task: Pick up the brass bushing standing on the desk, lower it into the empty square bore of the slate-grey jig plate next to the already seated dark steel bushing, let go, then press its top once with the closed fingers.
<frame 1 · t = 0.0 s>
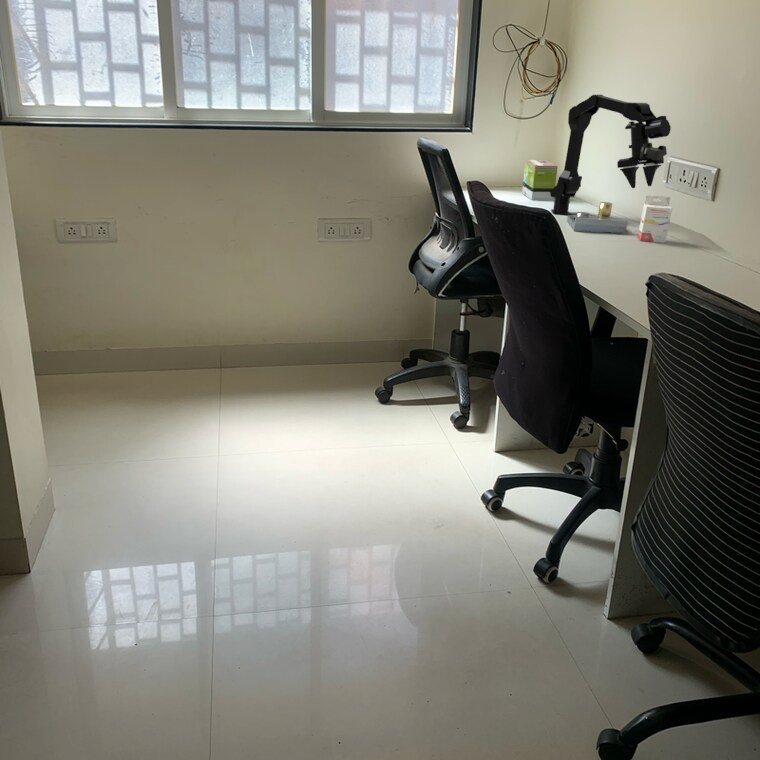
hand: (641, 187, 272), 15 cm above the table, tool pointing down, fingers open, 9 cm apart
tea box: (537, 198, 333), on the table
steel bushing: (581, 226, 281), resting in jig plate
brass bushing: (603, 221, 291), on the table
jig plate: (595, 227, 281), on the table
ink cartridge box: (651, 240, 266), on the table
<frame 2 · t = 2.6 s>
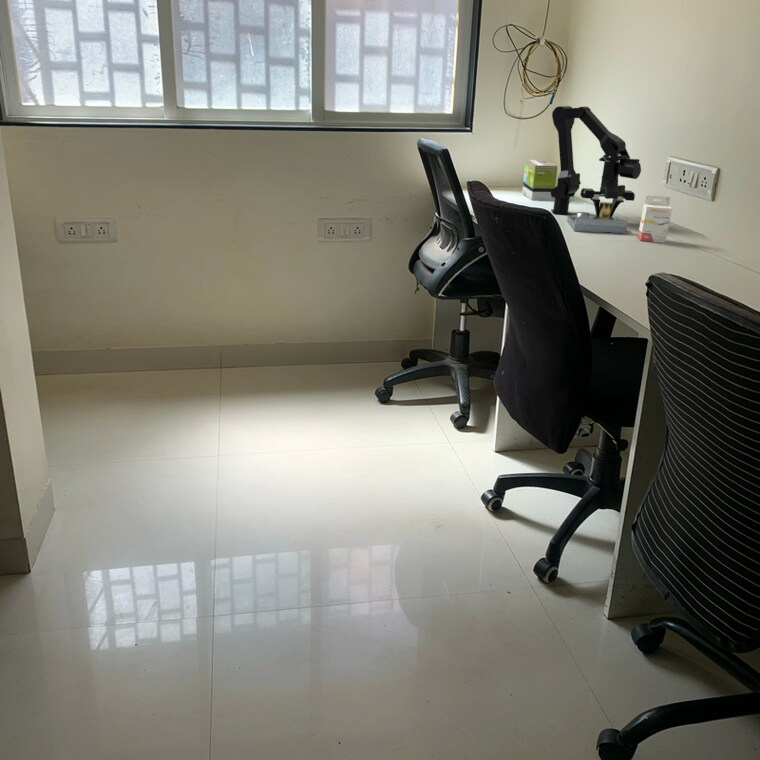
hand: (603, 217, 290), 2 cm above the table, tool pointing down, fingers closed on brass bushing, 4 cm apart
brass bushing: (603, 221, 291), on the table, touching gripper
everything else where it was.
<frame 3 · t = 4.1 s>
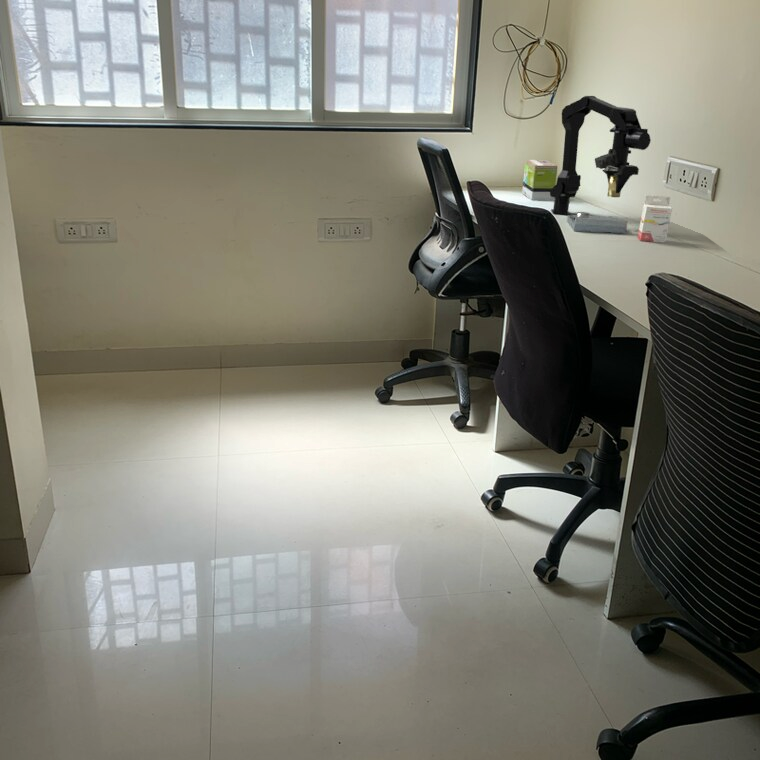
hand: (614, 192, 278), 12 cm above the table, tool pointing down, fingers closed on brass bushing, 4 cm apart
brass bushing: (613, 196, 279), point 11 cm above the table, touching gripper
everything else where it was.
when the fingers open (3 cm above the table, at t = 6.0 s): brass bushing drops 2 cm, resting in jig plate.
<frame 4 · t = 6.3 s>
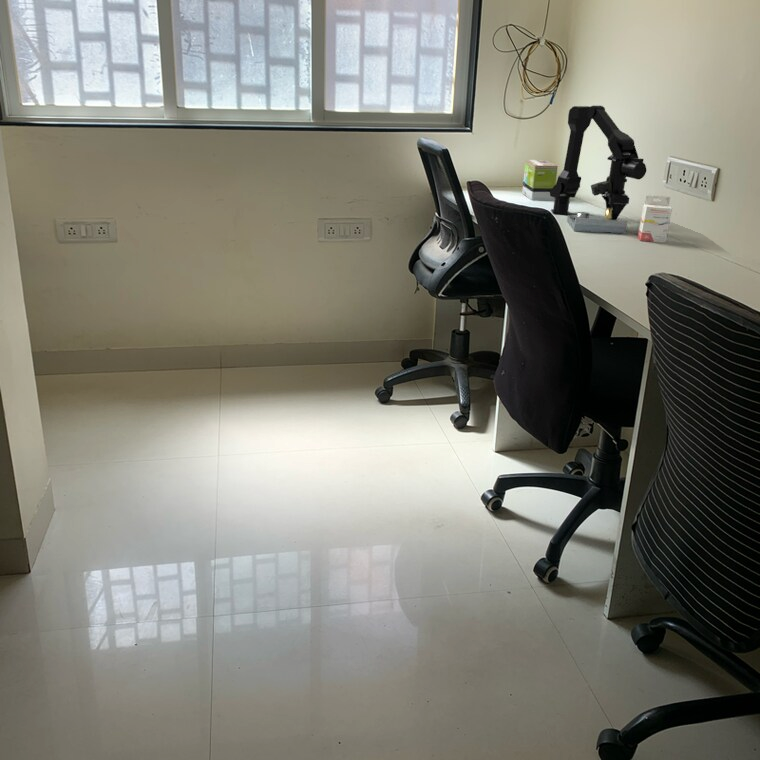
hand: (610, 219, 280), 3 cm above the table, tool pointing down, fingers open, 8 cm apart
brass bushing: (609, 228, 281), resting in jig plate
everything else where it was.
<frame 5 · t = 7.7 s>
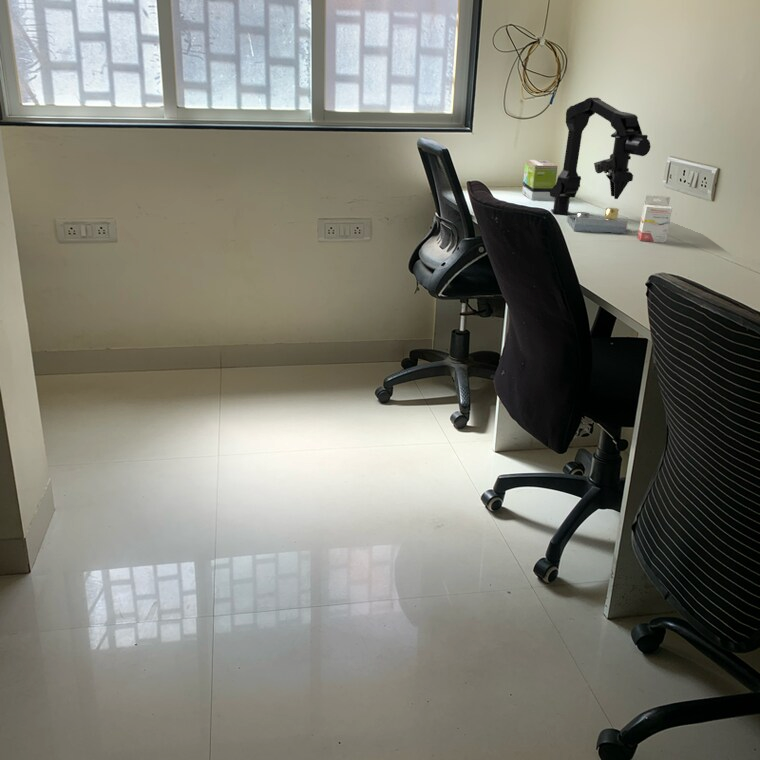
hand: (614, 197, 277), 11 cm above the table, tool pointing down, fingers open, 5 cm apart
nothing on the table moved.
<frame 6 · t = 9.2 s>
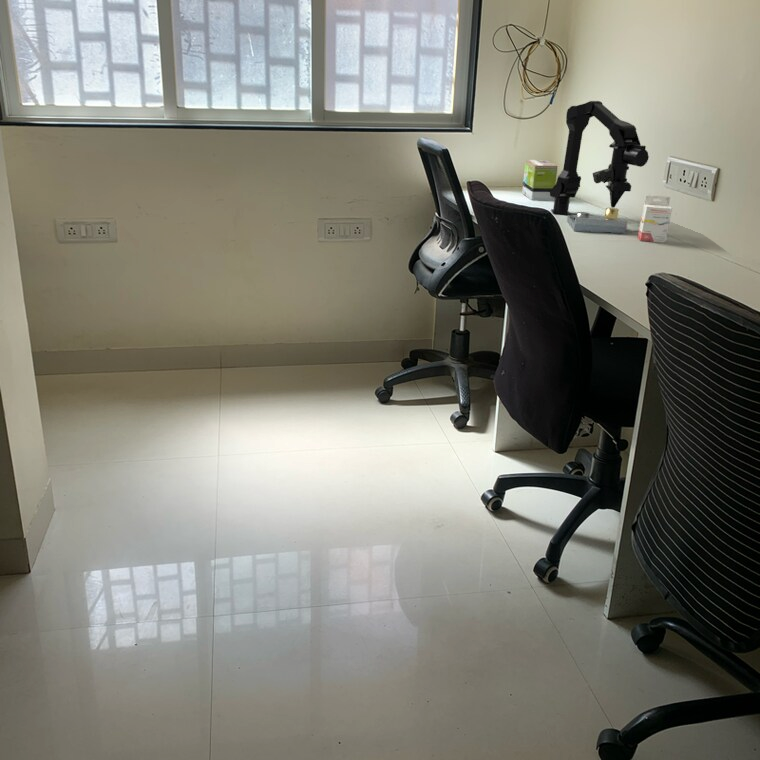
hand: (612, 207, 278), 8 cm above the table, tool pointing down, fingers closed
nothing on the table moved.
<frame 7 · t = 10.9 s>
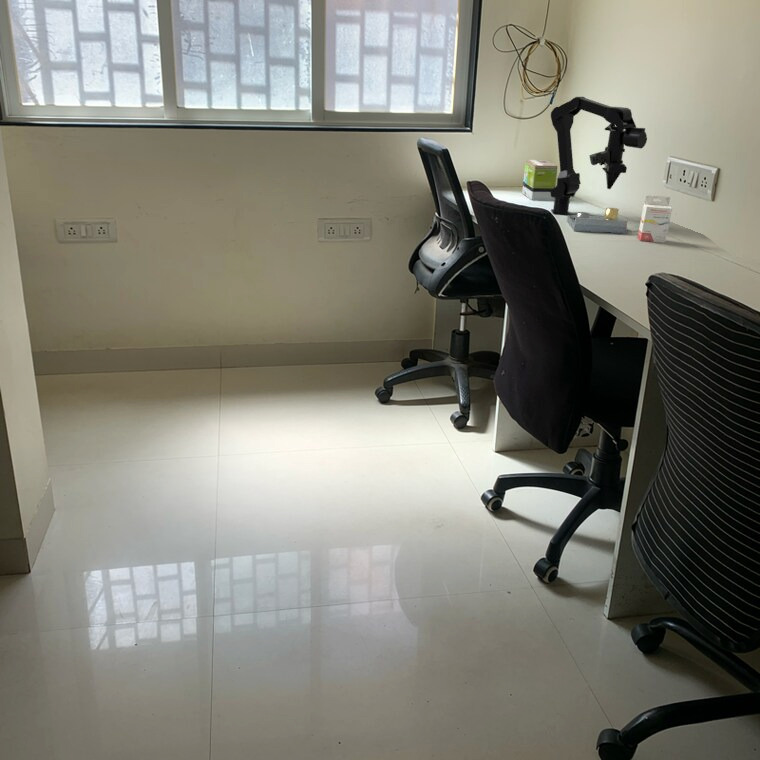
hand: (608, 188, 285), 12 cm above the table, tool pointing down, fingers closed
nothing on the table moved.
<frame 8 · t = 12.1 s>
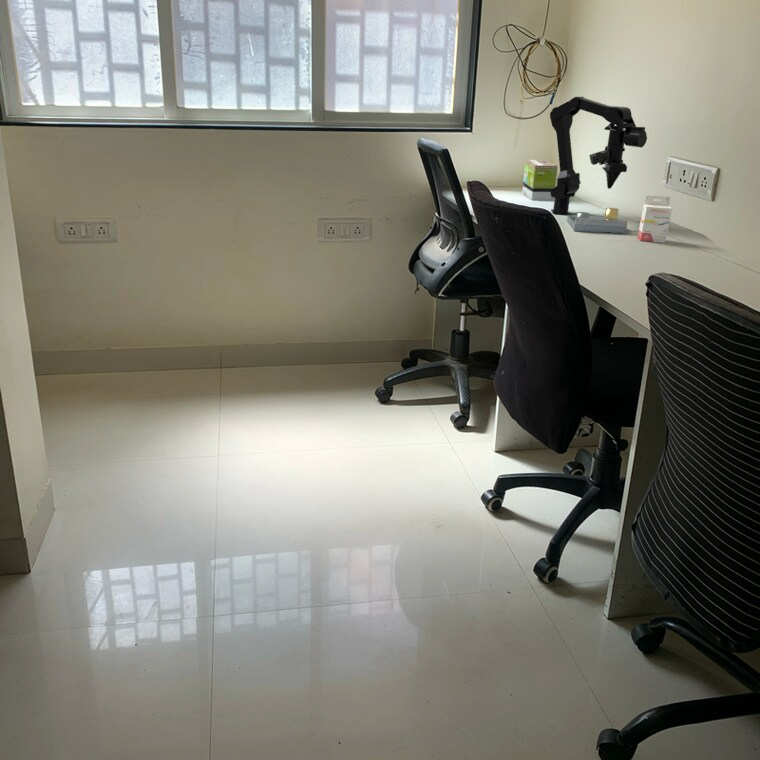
hand: (609, 188, 285), 13 cm above the table, tool pointing down, fingers closed
nothing on the table moved.
at the end: brass bushing 0.1 cm from the target spot on the jig plate, point 0.0 cm above the jig plate's base; brass bushing tilted 0°; the gripper is holding nothing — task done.
